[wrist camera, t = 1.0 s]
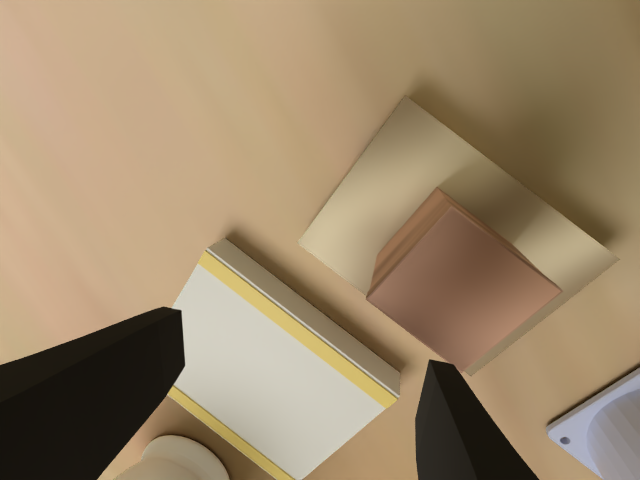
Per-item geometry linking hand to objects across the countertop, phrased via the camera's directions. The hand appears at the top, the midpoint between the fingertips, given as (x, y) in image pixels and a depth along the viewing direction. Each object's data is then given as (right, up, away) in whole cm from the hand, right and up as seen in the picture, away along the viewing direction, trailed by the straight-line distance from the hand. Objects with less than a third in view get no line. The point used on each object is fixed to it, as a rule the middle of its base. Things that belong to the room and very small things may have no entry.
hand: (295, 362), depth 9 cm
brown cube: (+7, +3, +7) cm, 10 cm away
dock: (-3, -5, +14) cm, 15 cm away
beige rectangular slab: (+7, +3, +8) cm, 11 cm away
